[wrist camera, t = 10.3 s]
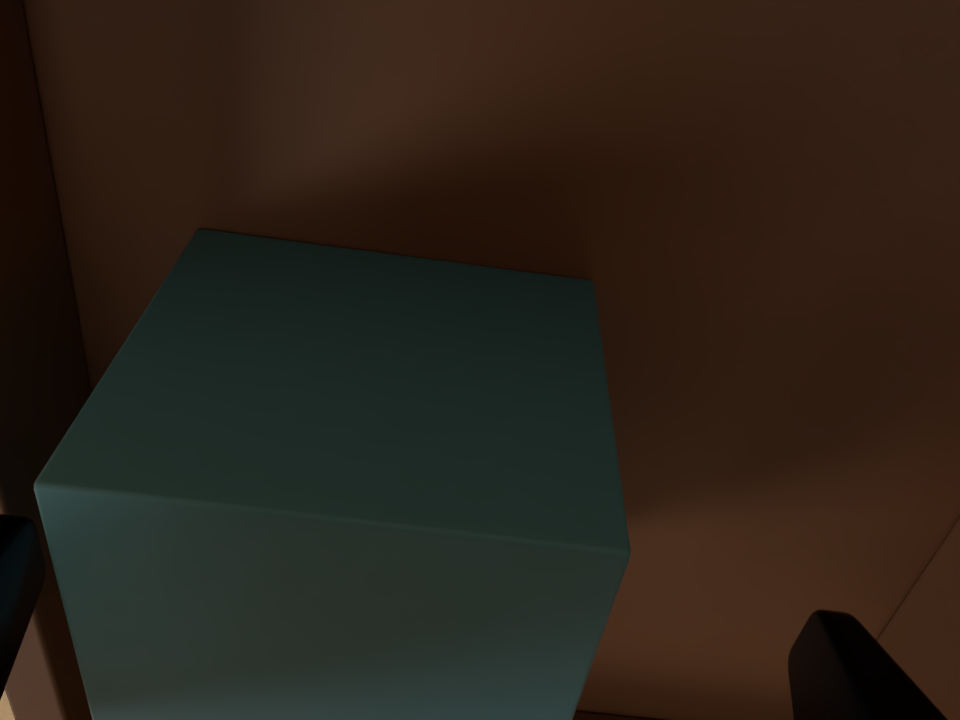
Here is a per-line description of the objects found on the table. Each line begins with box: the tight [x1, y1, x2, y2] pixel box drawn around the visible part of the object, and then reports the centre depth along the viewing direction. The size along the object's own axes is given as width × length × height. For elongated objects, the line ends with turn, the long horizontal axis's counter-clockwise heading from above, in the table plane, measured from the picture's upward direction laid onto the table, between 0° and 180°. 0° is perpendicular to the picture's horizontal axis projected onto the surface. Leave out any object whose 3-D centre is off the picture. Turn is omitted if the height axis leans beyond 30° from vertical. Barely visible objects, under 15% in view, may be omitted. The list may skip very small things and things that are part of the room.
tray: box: [0, 0, 960, 720], centre depth 12 cm, size 15×16×3 cm
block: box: [34, 229, 631, 720], centre depth 10 cm, size 5×5×4 cm
